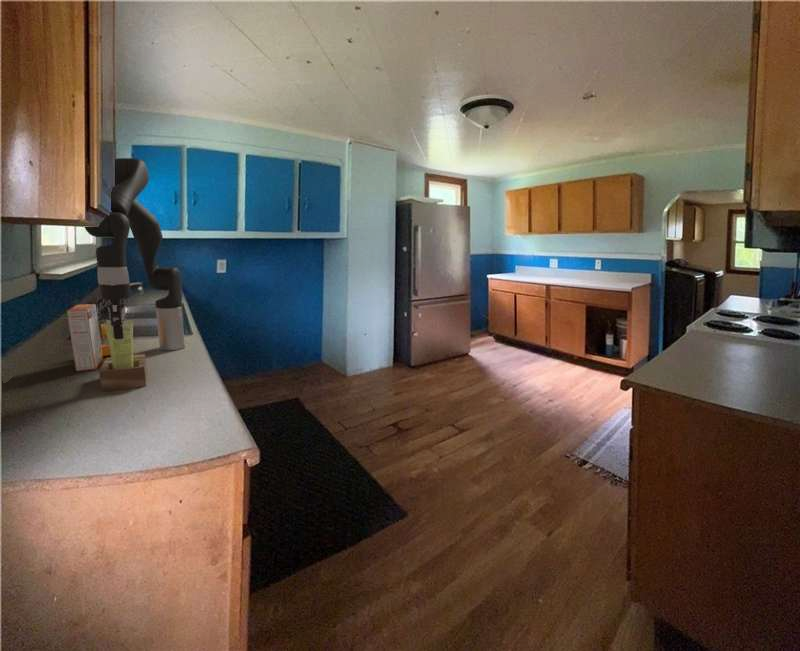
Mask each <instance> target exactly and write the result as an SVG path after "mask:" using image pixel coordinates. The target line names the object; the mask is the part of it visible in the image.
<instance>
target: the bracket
mask: <svg viewBox="0 0 800 651" xmlns="http://www.w3.org/2000/svg"><path fill="white" fill-rule="evenodd" d="M100 327H101V328H100V329H101V338H102V339H108V338H107V333H106V330H105V327H104V323H102V324H100ZM101 348H102V356H103V357H111V353H110V347H109V344H101Z"/></svg>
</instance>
